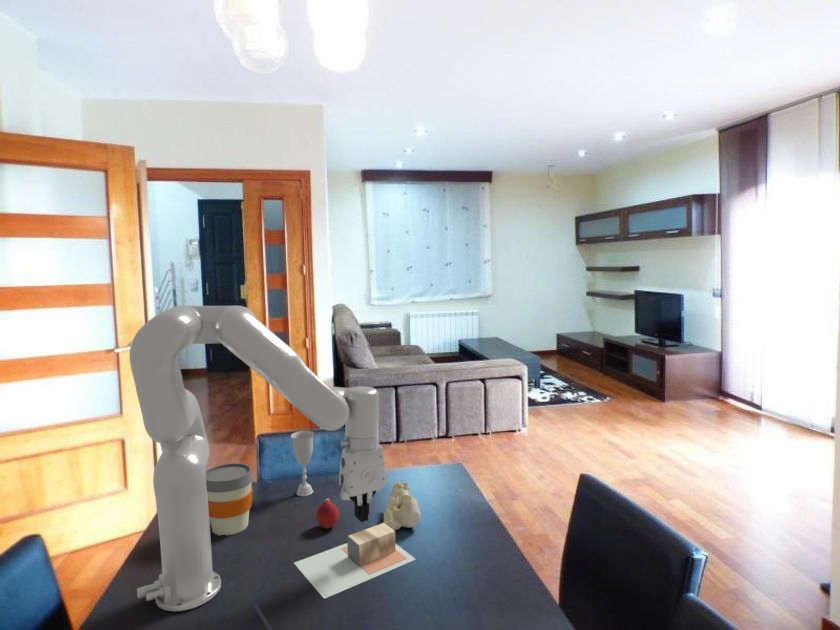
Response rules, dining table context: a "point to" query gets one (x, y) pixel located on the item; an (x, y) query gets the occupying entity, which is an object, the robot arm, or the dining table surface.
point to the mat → (346, 569)
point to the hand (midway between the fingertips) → (361, 518)
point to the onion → (327, 514)
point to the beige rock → (401, 508)
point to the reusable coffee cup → (229, 497)
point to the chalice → (303, 457)
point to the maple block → (371, 544)
